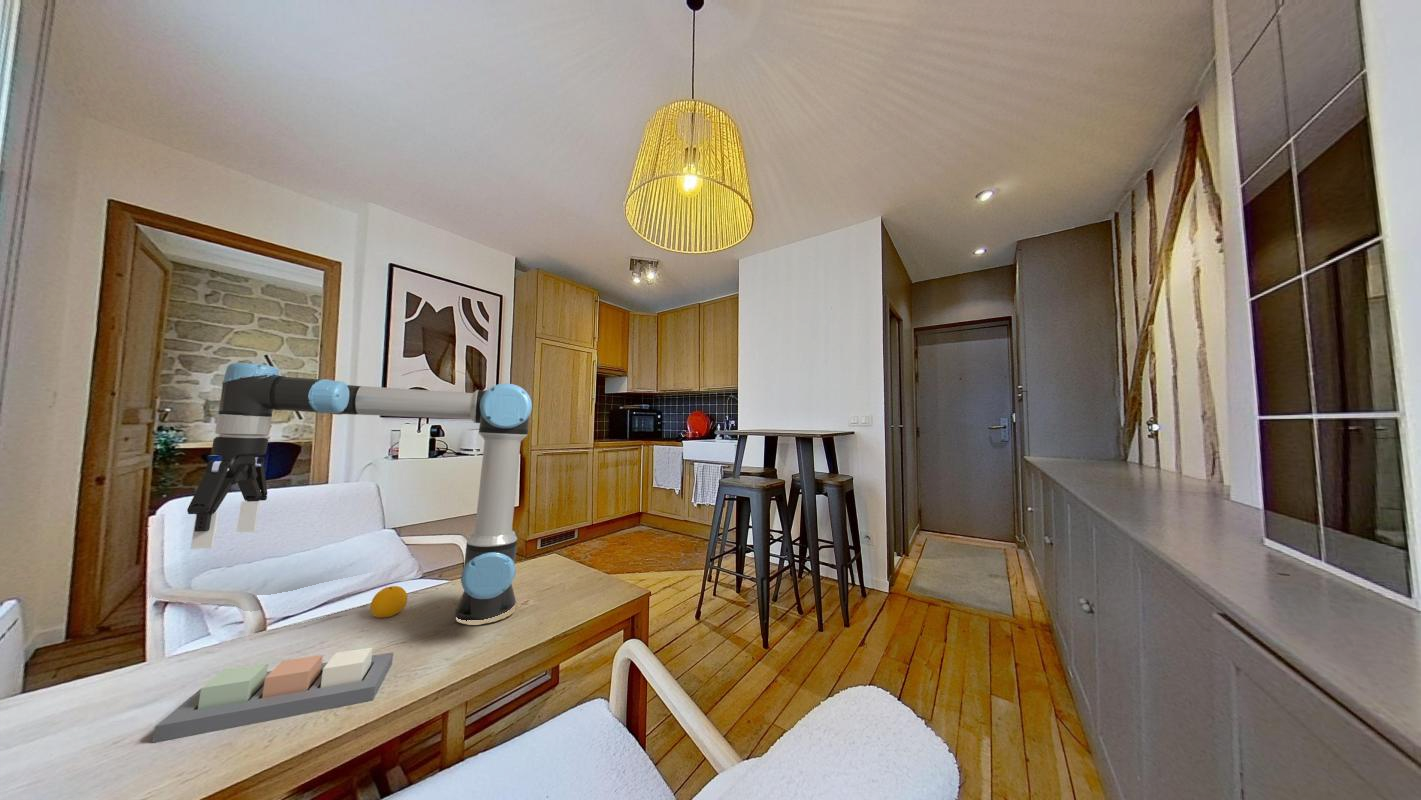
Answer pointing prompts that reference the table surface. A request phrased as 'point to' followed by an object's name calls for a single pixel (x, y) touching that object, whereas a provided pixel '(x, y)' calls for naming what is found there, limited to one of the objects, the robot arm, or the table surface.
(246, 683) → the key
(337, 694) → the keypad board
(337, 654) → the cream square block
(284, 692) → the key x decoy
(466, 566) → the robot arm
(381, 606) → the yellow lemon
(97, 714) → the table surface
